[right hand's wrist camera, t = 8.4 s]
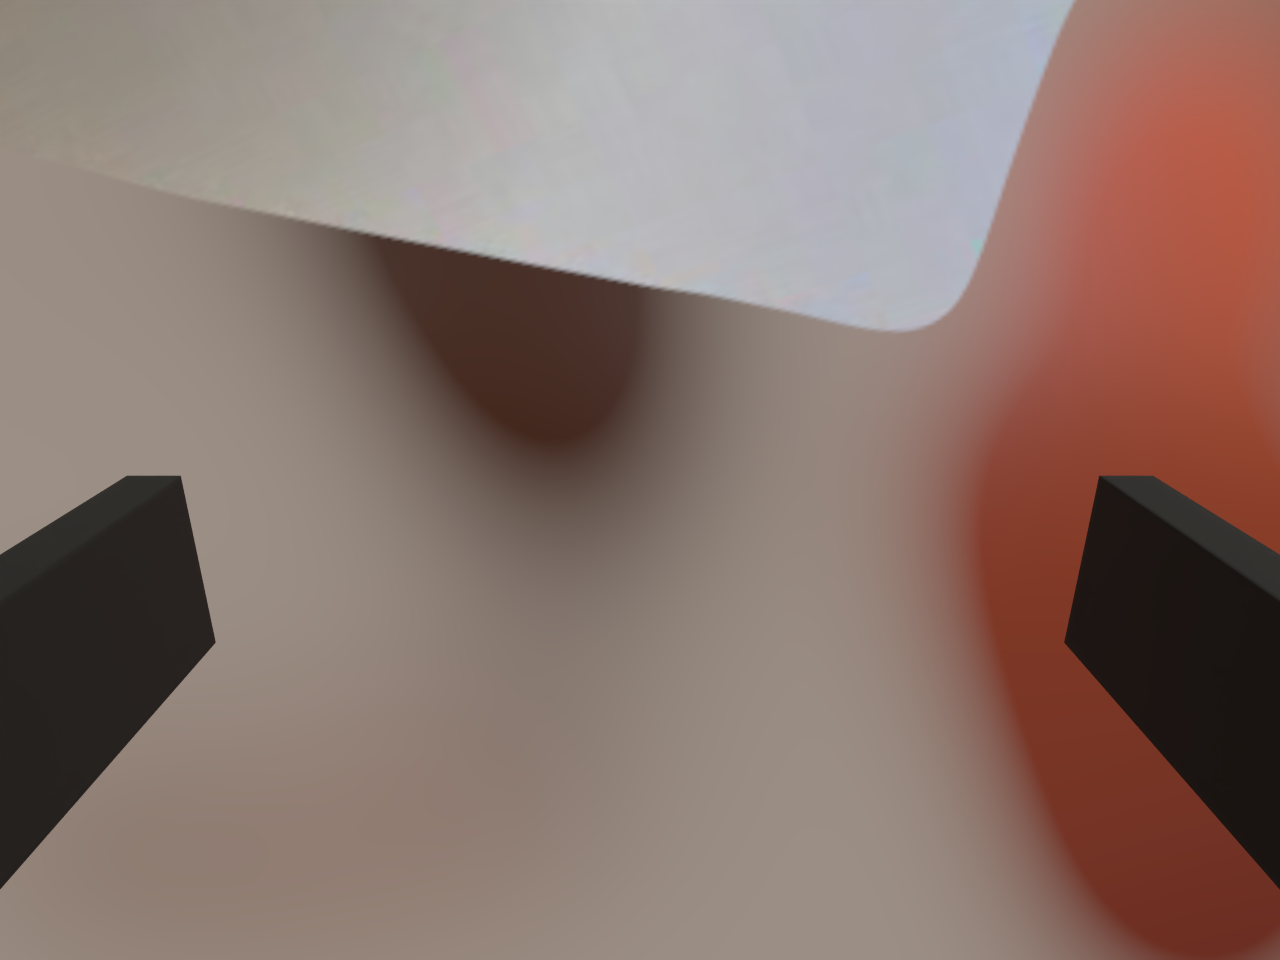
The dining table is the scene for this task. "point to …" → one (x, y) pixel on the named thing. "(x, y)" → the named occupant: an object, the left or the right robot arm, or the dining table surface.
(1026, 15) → the dining table surface
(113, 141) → the dining table surface
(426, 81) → the dining table surface
